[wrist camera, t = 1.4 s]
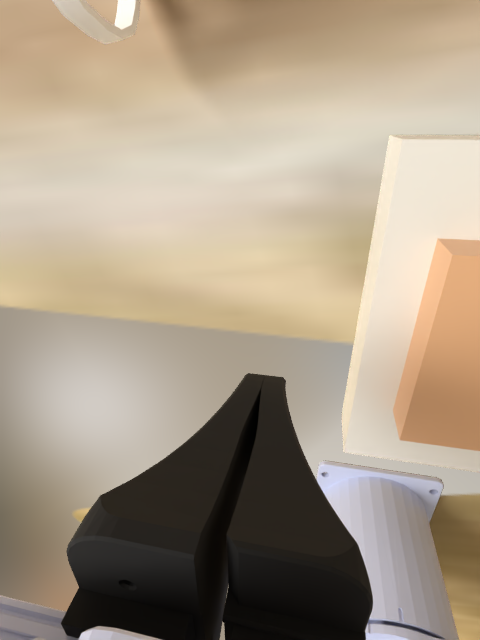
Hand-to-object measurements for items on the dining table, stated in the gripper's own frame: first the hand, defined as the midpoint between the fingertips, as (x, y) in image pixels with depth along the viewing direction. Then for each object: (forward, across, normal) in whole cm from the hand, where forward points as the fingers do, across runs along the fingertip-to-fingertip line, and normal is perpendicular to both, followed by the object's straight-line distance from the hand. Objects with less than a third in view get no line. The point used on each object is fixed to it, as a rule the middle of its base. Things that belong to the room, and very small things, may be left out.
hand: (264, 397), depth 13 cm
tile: (+5, -9, 0) cm, 10 cm away
